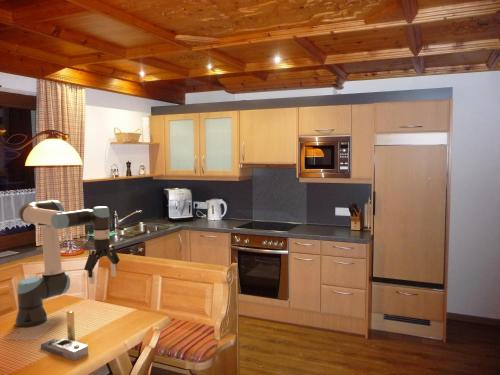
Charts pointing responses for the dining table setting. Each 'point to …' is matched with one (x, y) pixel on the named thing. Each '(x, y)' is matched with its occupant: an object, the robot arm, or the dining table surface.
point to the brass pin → (70, 325)
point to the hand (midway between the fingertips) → (103, 279)
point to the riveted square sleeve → (66, 348)
